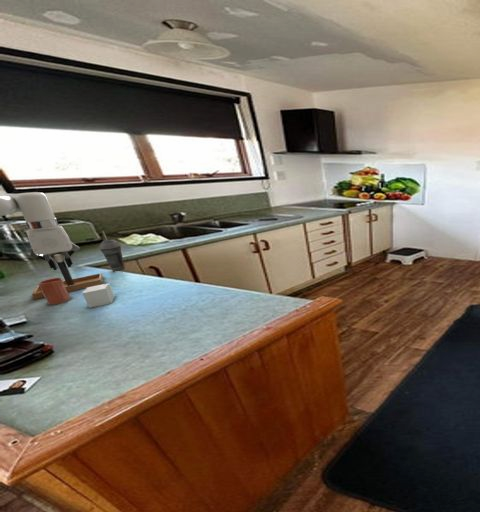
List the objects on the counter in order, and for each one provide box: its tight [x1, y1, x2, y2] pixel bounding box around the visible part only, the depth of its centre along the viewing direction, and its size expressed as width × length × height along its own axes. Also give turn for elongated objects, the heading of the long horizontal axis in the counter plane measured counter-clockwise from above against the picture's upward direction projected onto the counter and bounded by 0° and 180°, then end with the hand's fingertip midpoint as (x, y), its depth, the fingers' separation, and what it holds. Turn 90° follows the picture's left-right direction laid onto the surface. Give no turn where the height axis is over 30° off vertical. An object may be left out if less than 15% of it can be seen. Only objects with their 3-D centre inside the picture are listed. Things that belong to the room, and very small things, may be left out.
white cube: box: [82, 282, 115, 309], centre depth 101 cm, size 6×6×6 cm
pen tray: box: [31, 272, 104, 300], centre depth 115 cm, size 19×10×2 cm, turn 134°
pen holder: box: [37, 277, 72, 305], centre depth 102 cm, size 6×6×8 cm
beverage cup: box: [99, 230, 126, 273], centre depth 131 cm, size 7×7×20 cm
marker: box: [53, 253, 75, 286], centre depth 113 cm, size 2×2×14 cm
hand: (62, 267), depth 112 cm, fingers open, 3 cm apart
